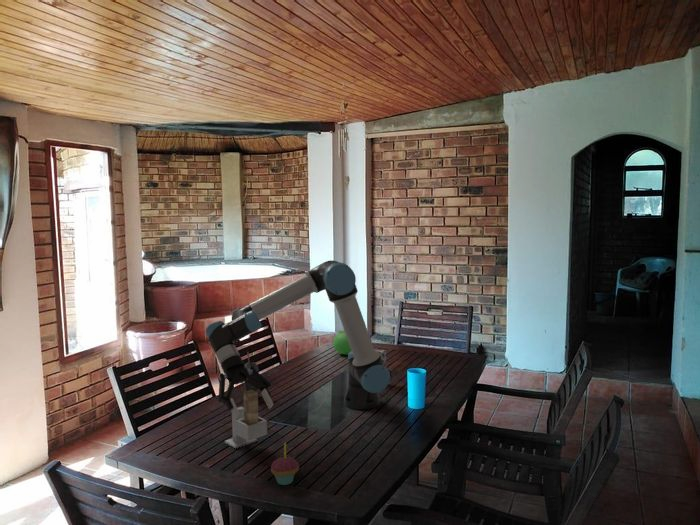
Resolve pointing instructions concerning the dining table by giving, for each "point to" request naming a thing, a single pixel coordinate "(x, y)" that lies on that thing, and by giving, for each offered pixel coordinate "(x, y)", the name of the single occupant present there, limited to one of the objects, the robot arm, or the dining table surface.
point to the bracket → (246, 430)
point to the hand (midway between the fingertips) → (254, 411)
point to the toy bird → (342, 343)
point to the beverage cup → (247, 366)
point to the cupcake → (284, 469)
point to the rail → (250, 407)
